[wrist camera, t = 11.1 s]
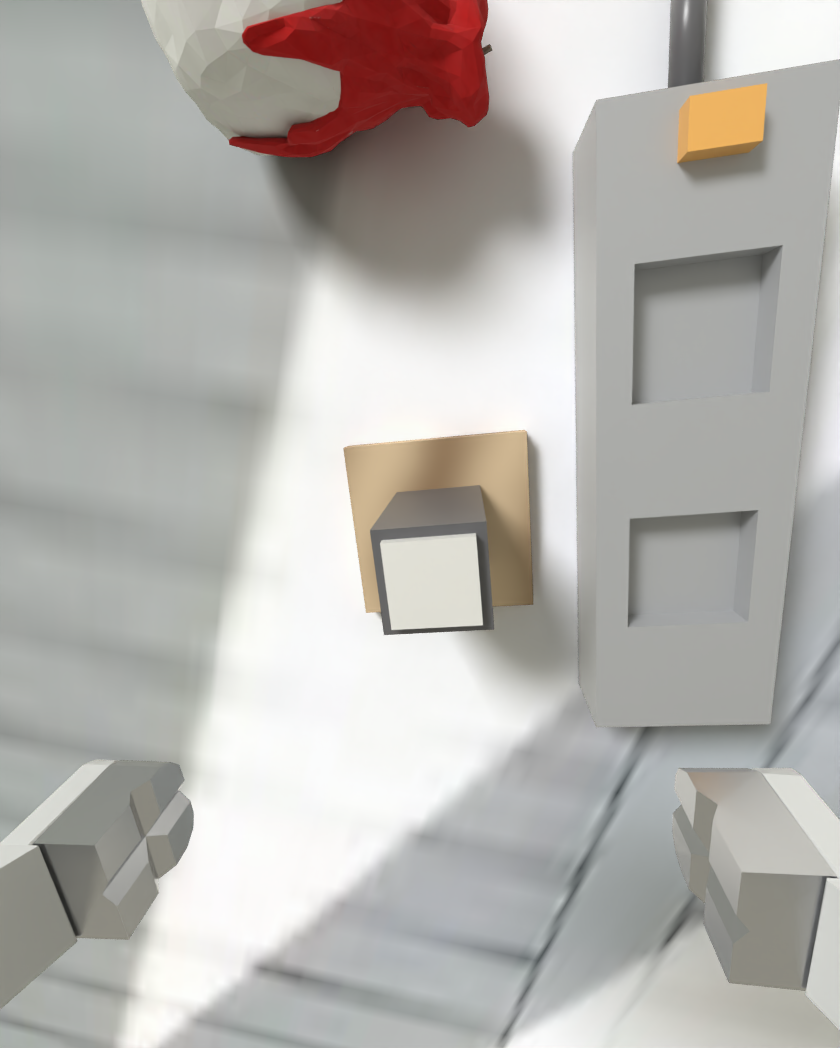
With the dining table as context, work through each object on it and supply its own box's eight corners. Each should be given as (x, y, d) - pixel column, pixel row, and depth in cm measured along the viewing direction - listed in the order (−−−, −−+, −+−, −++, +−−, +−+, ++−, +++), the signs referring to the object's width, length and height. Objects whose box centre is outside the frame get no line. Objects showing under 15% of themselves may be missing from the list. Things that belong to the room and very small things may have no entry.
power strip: (789, -68, 17) (895, -219, 13) (728, 678, 26) (781, 736, 21) (570, -24, 18) (603, -153, 14) (578, 683, 27) (600, 738, 22)
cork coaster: (524, 430, 23) (526, 431, 22) (530, 596, 25) (533, 604, 24) (348, 446, 24) (343, 448, 23) (369, 604, 26) (366, 612, 25)
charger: (480, 484, 23) (486, 524, 16) (485, 564, 24) (494, 634, 17) (396, 492, 24) (367, 533, 16) (406, 569, 25) (382, 640, 18)
